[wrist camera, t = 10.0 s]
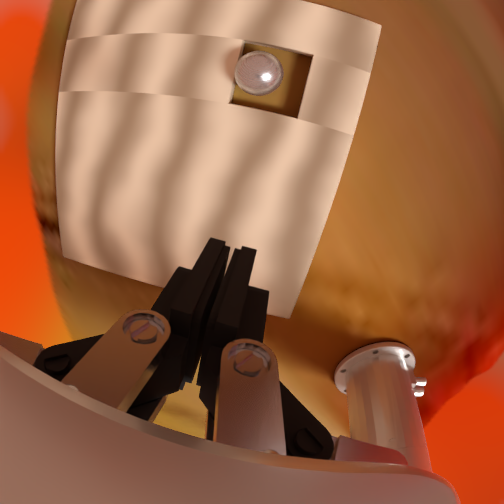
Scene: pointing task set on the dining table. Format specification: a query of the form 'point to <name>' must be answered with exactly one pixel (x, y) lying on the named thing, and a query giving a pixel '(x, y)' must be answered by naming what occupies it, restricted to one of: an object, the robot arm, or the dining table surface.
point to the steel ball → (258, 73)
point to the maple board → (202, 136)
